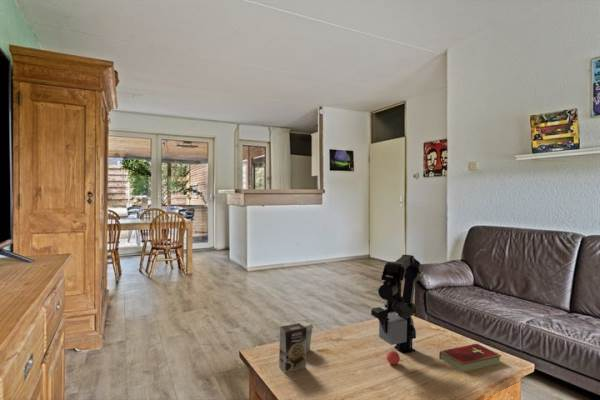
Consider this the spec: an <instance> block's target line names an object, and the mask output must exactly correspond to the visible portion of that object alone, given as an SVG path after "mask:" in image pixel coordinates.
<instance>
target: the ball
mask: <svg viewBox="0 0 600 400" xmlns="http://www.w3.org/2000/svg"><path fill="white" fill-rule="evenodd" d="M386 360H387V362H388V363H389V364H391V365H398V363H399V362H400V360H401V359H400V355H399V353H398V352H397V351H394V350H390V351H389V352H388V353H387V354H386Z"/></svg>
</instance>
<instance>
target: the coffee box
mask: <svg viewBox="0 0 600 400" xmlns="http://www.w3.org/2000/svg"><path fill="white" fill-rule="evenodd" d="M306 333H307V328H306V327H305V326H303V325H301V324H300V323H297V324H295V323H293V324H287V325H283V326H279V357H278V358H279V360H278V361H279V362H278V367H279V368H280V369H281V370H282V372H284V374H289V373H293V372H298V371H300V370H304V369H307V353H306Z"/></svg>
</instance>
